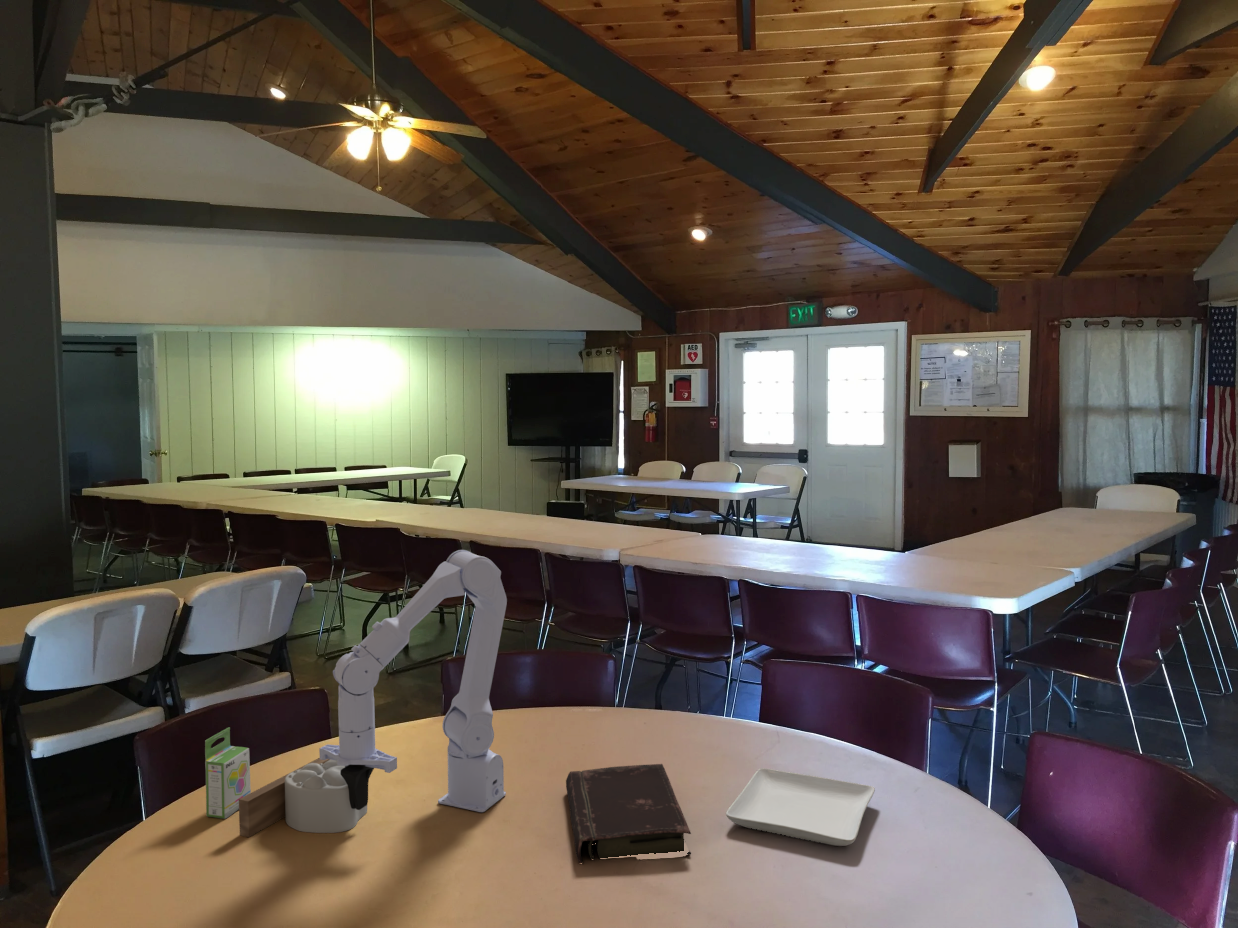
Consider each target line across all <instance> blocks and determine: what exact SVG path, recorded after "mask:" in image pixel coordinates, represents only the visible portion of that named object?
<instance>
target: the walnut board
mask: <svg viewBox="0 0 1238 928" xmlns="http://www.w3.org/2000/svg"><path fill="white" fill-rule="evenodd" d="M328 760H331V759H326V760H321V759H320V757H318V758H317V759H314V760H312V761H310V762H309V763H307V764H310V763H317V764H321V763H322V764H324V763H325V762H327V761H328ZM307 764H304V765H302V766H300V767H299V768H297V769H295V770H299V769H302V768H303V767H304V766H305V765H307ZM288 774H289V773H287V774H285V775H283V776H281V777H279V778H278V779H276V780H274V781H271V782H270V783H268V784H265V785H263V786H262V787H260V788H258V789H256V790H253V791H251V793H250V794H248V795H246V796H244V797H242V798H240V799H239V810H238V815H239V816H238V817H239V818H238V821H239V824H238V825H239V836H242V837H246V838H251V837H253V836H254V835H255V833H256V834H258V833H259V832H261V831H263V830H264V829H267V828H268V827H270V826H271V825H273V824H274V823H277V822H278V821H280V820H282V819H284V818H286V814H285V778H286V776H287V775H288ZM262 829H263V830H262ZM260 830H261V831H260Z"/></svg>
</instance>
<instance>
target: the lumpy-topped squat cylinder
mask: <svg viewBox="0 0 1238 928" xmlns="http://www.w3.org/2000/svg"><path fill="white" fill-rule="evenodd" d="M309 763H310V762H309ZM304 765H305V766H304ZM304 765H303V766H304V767H303V768H302V769H299V770H296V769H295V770H293V771H291V772H289V773H287V774H288V775H287V774H286V775H287V776H286V778H285V814H286V816H285V822H286V825H288V827H290V828H291V829H294V830H296V831H299V832H304V833H313V834H315V833H317V834H319V833H320V834H326V833H327V834H330V833H331V834H333V833H334V834H335V833H342V832H346V831H349V830H351V829H353V828H355V827H356V826H357V824H358V823H359V820H360V819H362V817H364V816H366V814H367V813H368V804H367V805H366V806H365V807H363V808H362V809H360V810H356V808H355V809H352V808H351V805H350V800H349V789H348V785H347V783H346V781H345V780H344V778H343V777H342V776H341V769H343V768H345V766H341V765H337V761H336V760H328V761H327V762H325V763H324V764H322V763H321V764H317V763H310V764H308V763H307V765H306V764H304Z"/></svg>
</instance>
